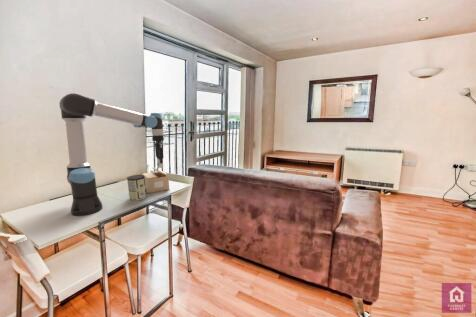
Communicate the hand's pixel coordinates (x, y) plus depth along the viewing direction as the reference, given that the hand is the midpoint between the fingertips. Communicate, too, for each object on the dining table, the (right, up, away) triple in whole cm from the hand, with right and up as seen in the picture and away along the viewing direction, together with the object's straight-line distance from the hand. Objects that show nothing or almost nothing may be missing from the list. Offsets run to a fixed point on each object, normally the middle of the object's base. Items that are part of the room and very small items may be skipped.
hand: (160, 167), depth 174 cm
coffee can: (-8, -19, -19) cm, 29 cm away
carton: (-3, -15, 0) cm, 16 cm away
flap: (-1, -3, 0) cm, 3 cm away
